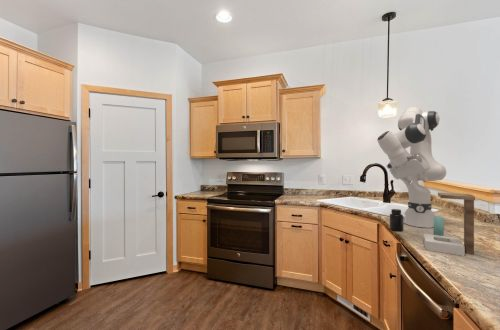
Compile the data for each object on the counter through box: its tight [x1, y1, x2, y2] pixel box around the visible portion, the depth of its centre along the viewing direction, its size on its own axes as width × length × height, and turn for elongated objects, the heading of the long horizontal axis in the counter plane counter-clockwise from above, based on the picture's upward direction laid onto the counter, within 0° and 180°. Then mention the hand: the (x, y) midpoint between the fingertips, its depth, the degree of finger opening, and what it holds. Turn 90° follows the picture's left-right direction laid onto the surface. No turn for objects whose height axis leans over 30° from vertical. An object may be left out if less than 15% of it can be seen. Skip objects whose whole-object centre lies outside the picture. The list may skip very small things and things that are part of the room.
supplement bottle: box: [389, 208, 405, 233], centre depth 135 cm, size 7×7×12 cm
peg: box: [433, 215, 445, 236], centre depth 116 cm, size 4×4×12 cm
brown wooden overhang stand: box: [437, 192, 476, 255], centre depth 103 cm, size 10×11×25 cm
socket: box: [422, 233, 466, 257], centre depth 106 cm, size 13×13×4 cm
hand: (418, 182), depth 118 cm, fingers open, 8 cm apart
